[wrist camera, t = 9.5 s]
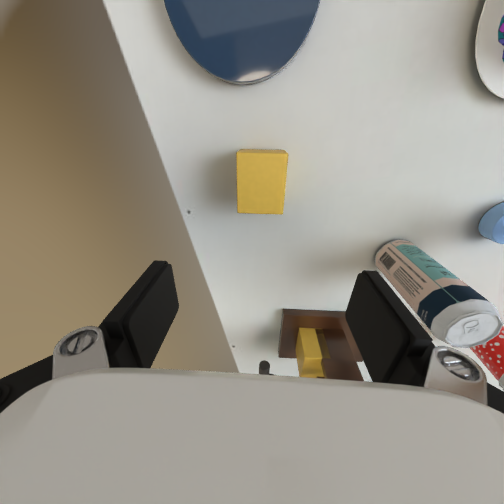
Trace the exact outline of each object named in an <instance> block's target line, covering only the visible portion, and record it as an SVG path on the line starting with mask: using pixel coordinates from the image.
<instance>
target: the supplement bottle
mask: <svg viewBox="0 0 504 504" xmlns="http://www.w3.org/2000/svg"><path fill="white" fill-rule="evenodd" d="M375 265H376V267H377V268H378V269H379V270H380V271H381V272H382V273H383V274H384V275H385V277H386V278H387V279H388V280H389V281H390V283H391V284H392V285H393V286H394V287H395V289H396V290H397V291H398V292H399V293H400V295H401V296H402V297H403V298H404V299H405V300H406V302H407V303H408V304H409V305H410V306H411V308H412V309H413V310H414V311H415V312H416V314H417V315H418V316H419V317H420V318H421V320H422V321H423V322H424V323H425V324H426V325H427V327H428V328H429V329H430V330H431V332H432V334H433V335H434V336H435V337H436V338H438V339H439V340H441V341H443V342H445V343H447V344H450V345H451V346H452V347H460V348H470V347H474V346H478V345H482V344H485V343H486V342H488V341H489V340H491V339H492V338H494V337H495V336H497V335H498V334H499V332H500V330H501V328H502V326H503V324H504V323H503V322H502V320H501V318H500V316H499V313H498V310H497V308H496V306H495V305H494V304H492V303H491V302H489V301H488V300H487V299H485V298H484V297H483V296H481V295H480V294H479V293H477V292H476V291H475V290H473V289H472V288H471V287H469V286H468V285H467V284H465V283H464V282H463V281H461V280H460V279H459V278H457V277H456V276H455V275H454V274H452V273H451V272H450V271H448V270H447V269H446V268H444V267H443V266H442V265H440V264H439V263H438V262H436V261H435V260H434V259H432V258H431V257H430V256H428V255H427V254H426V253H424V252H423V251H422V250H420V249H419V248H418V247H416V246H415V245H414V244H412V243H411V242H410V241H407V240H395V241H391V242H389V243H387V244H385V245H384V246H383V247H382V248H381V249H380V250H379V251H378V252H377V254H376V257H375Z"/></svg>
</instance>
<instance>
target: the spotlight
mask: <svg viewBox="0 0 504 504" xmlns="http://www.w3.org/2000/svg"><path fill="white" fill-rule="evenodd" d="M479 232H480V234H481V235H482V236H484V237H486V238H488V239H490V240H493V241H495V242H497V243H500V244H504V202H502V203H500V204H498V205H496V206H494V207H493V208H491V209H490V210H489V211H487V212H486V213H485V215H484V216H483V217H482V219H481V220H480V223H479Z"/></svg>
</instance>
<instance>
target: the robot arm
mask: <svg viewBox="0 0 504 504" xmlns="http://www.w3.org/2000/svg"><path fill="white" fill-rule="evenodd" d="M178 308H179V303H178V298H177V292H176V288H175V282H174V276H173V271H172V266H171V264H168V262H167V261H154V262H153V263H152V264H151V265H150V266H149V267H148V268H147V270H146V271H145V272H144V273H143V274H142V275H141V277H140V278H139V279H138V280H137V281H136V282H135V284H134V285H133V286H132V287H131V288H130V290H129V291H128V292H127V293H126V294H125V295H124V297H123V298H122V299H121V300H120V301H119V302H118V304H117V305H116V306H115V307H114V308H113V310H112V311H111V312H110V313H109V314H108V315H107V317H106V318H105V319H104V320H103V322H102V323H101V324H100V326H99V327H95V326H87V327H82V328H79V329H77V330H75V331H72V332H70V333H69V334H67V335H66V336H64V337H63V338H62V339H61V340H60V341H59V342H58V344H57V345H56V346H55V348H54V352H53V355H52V356H49V357H47V358H45V359H43V360H41V361H38V362H36V363H34V364H32V365H30V366H28V367H25V368H23V369H21V370H19V371H17V372H15V373H12V374H10V375H8V376H6V377H4V378H2V379H0V504H504V392H503V391H501V390H499V389H498V388H496V387H494V386H492V385H491V384H489V383H487V379H486V375H485V373H484V371H483V370H482V368H481V367H480V366H479V365H478V364H477V363H476V362H475V361H474V360H473V359H471V358H470V357H469V356H467V355H465V354H464V353H462V352H460V351H458V350H456V349H453V348H450V347H445V346H438V347H435V346H434V344H433V343H432V338H431V337H430V336H429V335H428V333H427V332H426V331H425V330H424V328H423V327H422V326H421V325H420V323H419V322H418V321H417V320H416V319H415V317H414V316H413V315H412V314H411V312H410V311H409V310H408V309H407V307H406V306H405V305H404V304H403V303H402V301H401V300H400V299H399V298H398V296H397V295H396V294H395V293H394V291H393V290H392V289H391V288H390V286H389V285H388V284H387V283H386V282H385V280H384V279H383V278H382V277H381V275H380V274H379V273H378V272H377V271H367V270H364V271H362V273H359V274H358V276H357V279H356V282H355V285H354V288H353V291H352V295H351V298H350V301H349V304H348V307H347V310H346V313H345V318H346V321H347V324H348V326H349V328H350V331H351V333H352V335H353V337H354V340H355V342H356V344H357V347H358V349H359V351H360V354H361V356H362V358H363V360H364V363H365V365H366V367H367V370H368V372H369V374H370V377H371V379H372V381H373V382H365V381H351V380H336V379H322V378H307V377H292V376H276V375H260V374H244V373H228V372H210V371H191V370H175V369H151V365H152V363H153V361H154V359H155V357H156V355H157V353H158V351H159V349H160V347H161V345H162V343H163V341H164V339H165V336H166V334H167V332H168V330H169V328H170V326H171V324H172V322H173V320H174V318H175V316H176V313H177V311H178Z"/></svg>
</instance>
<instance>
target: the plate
mask: <svg viewBox="0 0 504 504" xmlns="http://www.w3.org/2000/svg"><path fill="white" fill-rule="evenodd" d="M164 3H165V7H166V10H167V13H168V16H169V18H170V21H171V24H172V26H173V28H174V30H175V32H176V34H177V36H178V38H179V39H180V41H181V43H182V44H183V46H184V47H185V49H186V50H187V51H188V53H189V54H190V55H191V57H192V58H193V59H194V60H195V61H196V62H197V63H198V64H199V65H200V66H201V67H202V68H203V69H205V70H206V71H207V72H208V73H209V74H211V75H213V76H214V77H216V78H218V79H220V80H222V81H225V82H228V83H232V84H238V85H249V84H255V83H259V82H262V81H264V80H267V79H269V78H271V77H272V76H274V75H276V74H277V73H278V72H280V71H281V70H282V69H283V68H285V66H286V65H287V64H288V63H289V62H290V61H291V60H292V59H293V58H294V56H295V55H296V54H297V52H298V51H299V50H300V48H301V46H302V45H303V43H304V41H305V39H306V37H307V35H308V33H309V31H310V29H311V26H312V24H313V22H314V19H315V16H316V13H317V11H318V7H319V3H320V0H164Z"/></svg>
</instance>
